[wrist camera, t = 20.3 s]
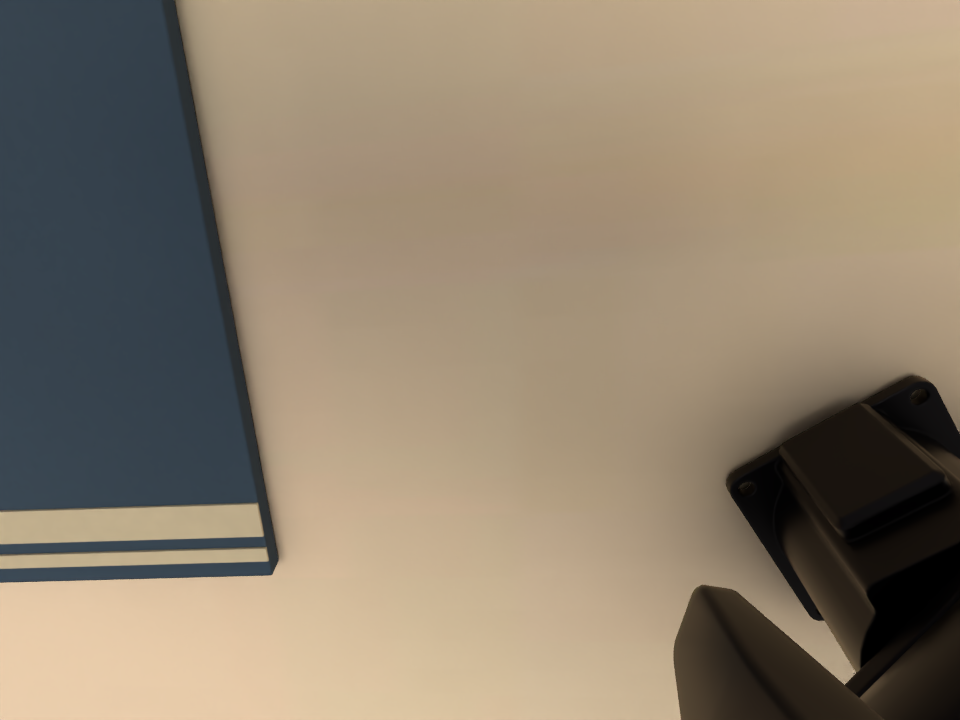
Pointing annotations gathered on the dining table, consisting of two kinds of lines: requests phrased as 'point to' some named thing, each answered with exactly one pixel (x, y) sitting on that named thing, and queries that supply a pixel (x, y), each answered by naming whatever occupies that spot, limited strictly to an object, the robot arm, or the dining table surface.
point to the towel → (115, 312)
